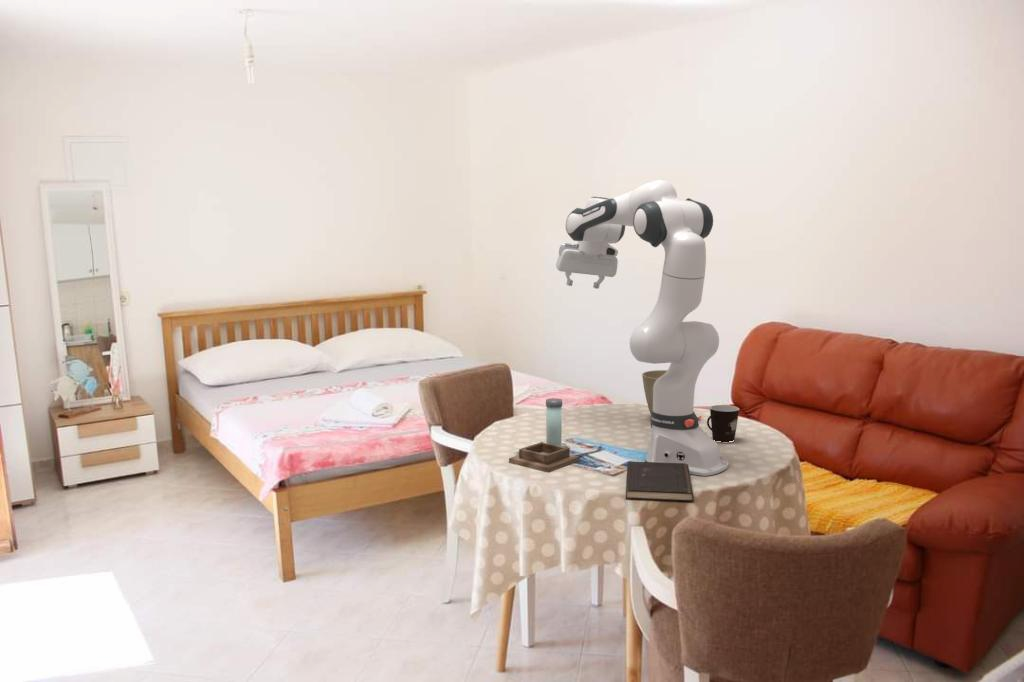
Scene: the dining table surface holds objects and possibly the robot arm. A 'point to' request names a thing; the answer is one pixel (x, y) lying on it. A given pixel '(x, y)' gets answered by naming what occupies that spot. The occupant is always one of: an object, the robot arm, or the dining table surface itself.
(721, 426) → the coffee mug
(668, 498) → the hardcover book
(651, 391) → the plant pot
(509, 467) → the dining table surface
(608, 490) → the dining table surface
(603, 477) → the dining table surface
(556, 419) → the capped tube
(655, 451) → the robot arm
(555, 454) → the walnut rack
